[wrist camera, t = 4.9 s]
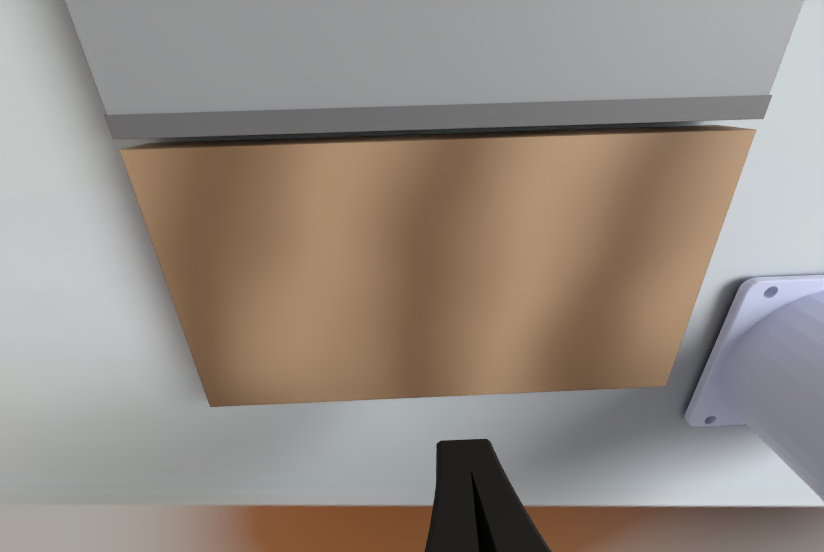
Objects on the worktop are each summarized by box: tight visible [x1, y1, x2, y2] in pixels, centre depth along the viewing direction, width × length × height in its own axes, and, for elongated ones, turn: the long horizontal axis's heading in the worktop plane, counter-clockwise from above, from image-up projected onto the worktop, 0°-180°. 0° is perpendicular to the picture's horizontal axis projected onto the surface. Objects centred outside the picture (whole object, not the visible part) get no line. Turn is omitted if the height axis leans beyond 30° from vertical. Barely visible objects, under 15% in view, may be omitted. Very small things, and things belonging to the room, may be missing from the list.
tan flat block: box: [120, 125, 756, 407], centre depth 14 cm, size 18×10×2 cm, turn 91°
